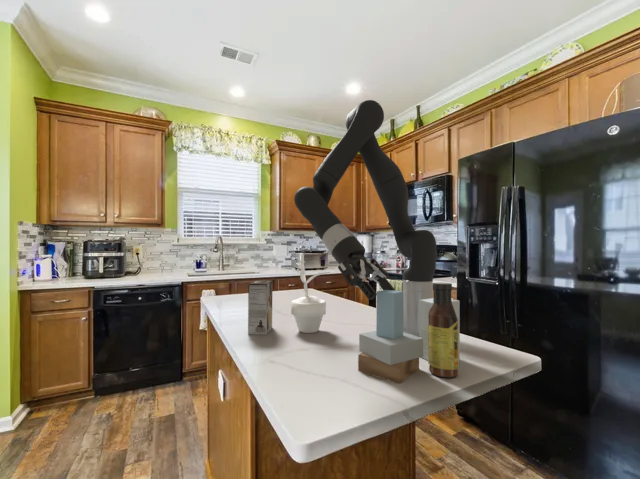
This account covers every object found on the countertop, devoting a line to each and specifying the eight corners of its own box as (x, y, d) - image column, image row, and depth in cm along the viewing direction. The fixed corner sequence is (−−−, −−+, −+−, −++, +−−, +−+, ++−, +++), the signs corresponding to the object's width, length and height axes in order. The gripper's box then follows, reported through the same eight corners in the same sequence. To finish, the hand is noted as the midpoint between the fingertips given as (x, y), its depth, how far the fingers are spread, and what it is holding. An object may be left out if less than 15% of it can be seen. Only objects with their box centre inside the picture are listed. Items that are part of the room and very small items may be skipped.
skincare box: (442, 352, 82) (442, 296, 83) (461, 360, 77) (461, 299, 77) (417, 357, 79) (418, 298, 79) (436, 365, 73) (436, 302, 74)
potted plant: (285, 334, 98) (286, 255, 99) (297, 325, 110) (298, 254, 110) (324, 337, 95) (324, 255, 96) (332, 328, 106) (333, 254, 107)
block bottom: (380, 360, 78) (380, 344, 78) (419, 370, 71) (419, 353, 71) (358, 372, 70) (358, 354, 70) (399, 385, 64) (399, 365, 64)
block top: (390, 344, 77) (390, 328, 78) (423, 356, 69) (423, 338, 69) (359, 351, 72) (359, 333, 72) (390, 365, 64) (390, 345, 64)
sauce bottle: (461, 380, 65) (461, 285, 66) (430, 377, 66) (430, 284, 67) (454, 368, 72) (454, 281, 72) (426, 366, 73) (426, 281, 73)
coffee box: (253, 327, 107) (254, 280, 107) (272, 327, 107) (273, 280, 107) (247, 334, 98) (248, 283, 98) (267, 334, 98) (268, 283, 98)
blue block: (386, 331, 74) (386, 289, 74) (403, 335, 71) (403, 291, 72) (376, 335, 71) (376, 291, 71) (393, 339, 68) (394, 293, 68)
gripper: (334, 233, 72) (377, 287, 65) (367, 235, 83) (407, 282, 75) (316, 256, 76) (356, 310, 68) (350, 255, 86) (387, 301, 79)
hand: (383, 295), depth 72 cm, fingers open, 8 cm apart
